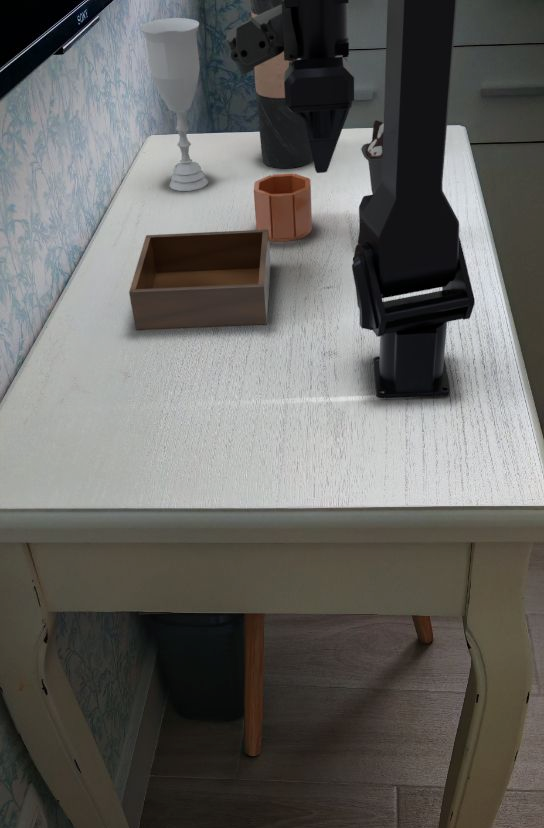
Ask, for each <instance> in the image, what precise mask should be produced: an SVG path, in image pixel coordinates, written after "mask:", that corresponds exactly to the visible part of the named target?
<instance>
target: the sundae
mask: <svg viewBox="0 0 544 828" xmlns="http://www.w3.org/2000/svg"><path fill="white" fill-rule="evenodd" d="M372 125H373V126H372V137H371V141H370V142H368V143H365V144H363V145H362V146H361V149H360V150H361V153H362V155H363V157H364V158H365V160H367V162H368V168H369V170H368V171H369V178H370V179H369V180H370V189H371V195H373V194H375V192H376V190H377V189H378V187H379V185H380V184H381V181H382V160H383V130H384V121H380V120H376V119H375V120H374V121H373V124H372Z"/></svg>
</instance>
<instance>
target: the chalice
mask: <svg viewBox="0 0 544 828" xmlns="http://www.w3.org/2000/svg"><path fill="white" fill-rule="evenodd" d="M199 26H200V22H199V21H198V20H195V19H192V18H187V17H186V18H185V17H169V18H160V19H156V20H151V21H149V22H145V23H143V24H142V25H140V28H139V30H140V31H141V33H142V34H143V36H144V38H145V42H146V50H147V58H148V64H149V65H148V66H149V71H150V76H151V78H152V80H153V83H154V85H155V87H156V90H157V91H158V93H159V95H160V97H161V98H162V101H163V102H164V103H165V105H166V107H167V109H168V111H171V112H173V113H175V115H176V118H177V121H176V122H177V124H176V127H175V130H176V132H177V134H178V136H179V140H178V142H177V144H176V145H177V147H178V148H179V149H180V152H181V159H180V161H179V163H177V164H175V166H174V167H173V169H172V175H171V180H170V183H169V187H170V189H173V190H175V191H179V192H190V191H196V190H200V189H203V188H205V187H206V185H208V183H209V181H208V179H207V178H206V176H205V173H204V172H203V171H204V170H202V167H201V166H200V164H199V163H198V162H196V161H193V159H191V156H190V154H189V153H190V151H189V150H190V146H191V145H192V143H191V142H190V141H189V138H188V137H187V136H188V135H187V134H188V130H189V127H188V125H187V122H186V120H185V112H187V111H188V110H190V109H191V107H192V104H193V100H194V98H195V95H196V92H197V88H198V82H199V77H200V70H201V69H200V59H199V50H198V49H199V48H198V40H197V33H198V30H199Z"/></svg>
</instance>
